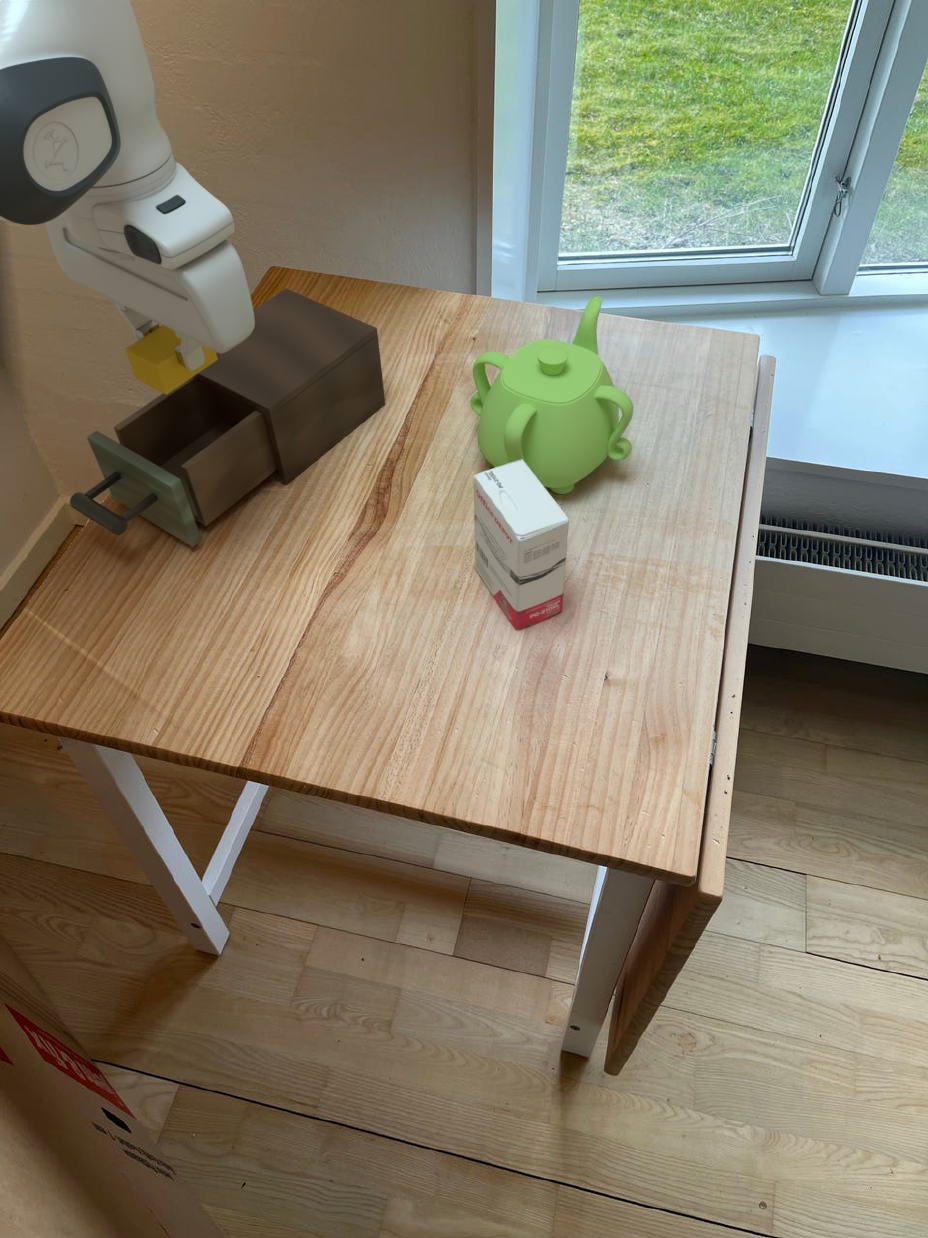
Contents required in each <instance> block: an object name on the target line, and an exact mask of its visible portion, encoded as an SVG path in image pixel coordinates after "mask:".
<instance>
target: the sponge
mask: <svg viewBox="0 0 928 1238" xmlns="http://www.w3.org/2000/svg"><path fill="white" fill-rule="evenodd" d="M179 345H181V338H180V339H179V338H177V337H176V335H175V332H174V330H172V329H170V328H168V327H166V326H164V325H162V324H161V325H159V328H157V329H156V330H154V331H152V332H151V333H150V334H148V335H146V336H145V337H143V338H141V339H140V340H138V341H137V342H136V341H135V342H133V343H132V344H130V345H129V346H127V347H126V348H124V350H125V353H126V356H127V358H128V362H129V364H130V367H131V370H132V373H133V375H134V378H135V379H136V380H138V381H140V382H141V383H144V384H145V385H147V386H149V387H151V388H153V389H154V390H156V391H158V392H160V393H161V394H163V393H164V394H166V395H167V394H168V393H170V392H171V391H173V390H174V389H176V388H177V387H179V386H180V385H182V384H183V383H184V382H186V381H187V380H189V379H190V378H192V377H193V376H195V375H196V374H198V373H199V372H200V371H202V370H203V369H205V368H206V367H208V366H209V365H211V364H212V363H214V362H215V361H216V360H218V358H217V355H216V352H215V351H213V350H211V349H209V348H207V347H205V346H203V345H201V346H202V349H203V353H204V356H205V362H204V364H203V365H201V366H200V367H199V368H197V369H196V370H194V371H191V370H189V369H187V368H185V367H183V366H181V365H180V364H179V363H178V360H177V357H176V354H175V352H174V349H175V348H176V347H178V346H179Z"/></svg>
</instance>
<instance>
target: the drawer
mask: <svg viewBox="0 0 928 1238" xmlns="http://www.w3.org/2000/svg"><path fill="white" fill-rule="evenodd" d="M113 429H114V432H115V434H116V437H117V439H118V442H117V441H115V440H114V439H112V438H111V437H109V436H107V435H106V434H104V433H102V432H100V431H98V430H95V431H94V432H92V433H90V434H89V435H88V436H86V439H87V441H88V444H89V446H90V448H91V450H92V453H93V455H94V458H95V461H96V462H97V464H98V466H99V469H100V472H101V474H102V476H103V478H104V479H103V480H101V481H100V482H98V483H97V484H96V485H94V486H93V487H91V488H90V489H89V490H87V491H86V492H85V493H84V492H81V491H77V492H75V493H74V494H72V495H71V497H70V499H69V504H70V507H71V508H72V509H74V510H76V511H77V512H79V513H80V514H82V515H83V516H85V517H87V518H88V519H90V520H92V521H93V522H94V523H96V524H98V525H99V526H101V527H102V528H104V529H105V530H107V531H109V532H110V533H112V535H115V536H121V535H123V534H124V533H125V532H126V531H127V529H128V523H129V522H131V521H132V520H134V518H136V517H137V516H139V515H140V516H141V517H143V518H145V519H146V520H147V521H149V522H151V523H153V524H154V525H156V526H157V527H159V528H160V529H163V530H164V531H165V532H167V533H169V534H170V535H172V536H173V537H175V538H177V539H179V540H180V541H181V542H183V543H185V544H187V545H188V546H190V547H192V548H193V547H195V546H196V545H198V543H200V542H201V541H202V537H201V535H200V531H199V528H198V526H197V523H196V522H198V523H200V524H201V525H203V526H204V527H207V526H208V525H209V524H211V523H213V521H214V520H216V519H217V518H219V516H221V515H223V513H224V512H226V511H227V510H229V509H230V508H231V507H232V506H233V505H235V504H236V503H237V502H239V501H240V500H241V499H242V498H244V497H245V496H246V495H247V494H248V493H250V492H251V491H252V490H253V489H255V488H256V487H257V486H258V485H260V484H261V483H262V482H263V481H264V480H266V479H267V478H269V477H270V476H269V475H271V474H272V473H273V472H274V471H276V470H277V469H278V467H277V463H276V459H275V455H274V450H273V446H272V442H271V438H270V433H269V429H268V425H267V421H266V416H265V413H264V412H262V411H260V410H259V409H257V408H255V407H253V406H251V405H249V404H247V403H245V402H243V401H241V400H239V399H237V398H235V397H233V396H231V395H229V394H228V393H226V392H224V391H222V390H220V389H218V388H216V387H214V386H212V385H210V384H208V383H206V382H204V381H202V380H200V379H198V378H197V377H195V376H193V377H192V378H190V379H189V380H187V381H186V382H184V383H183V384H182V385H180V386H179V387H177V388H176V389H174V390H173V391H171V392H170V393H168V394H167V395H166V394H164V393H161V394H160V395H159V396H157V397H156V398H154V399H153V400H151V401H150V402H148V403H146V404H145V405H144V406H142V407H141V408H139V409H138V410H136V411H135V412H134V413H132V414H131V415H129V416H128V417H126V418H125V419H124V420H122V421H121V422H119V423H117V424H116V425H114V426H113ZM107 489H108V490H109V492H110V494H111V496H112V499H114V500H115V501H116V502H118V503H120V504H121V505H123V506H125V507H127V508H128V509H129V510H127V511H126V512H125V513H123V514H122V515H119V514H117V513H115V512H113V511H112V510H111V509H109V508H107V507H106V506H104V505H103V504H101V503H100V502H98V501H96V500H95V498H96V497H98V496H99V495H100V494H102V493H104V492H105V491H106V490H107Z"/></svg>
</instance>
